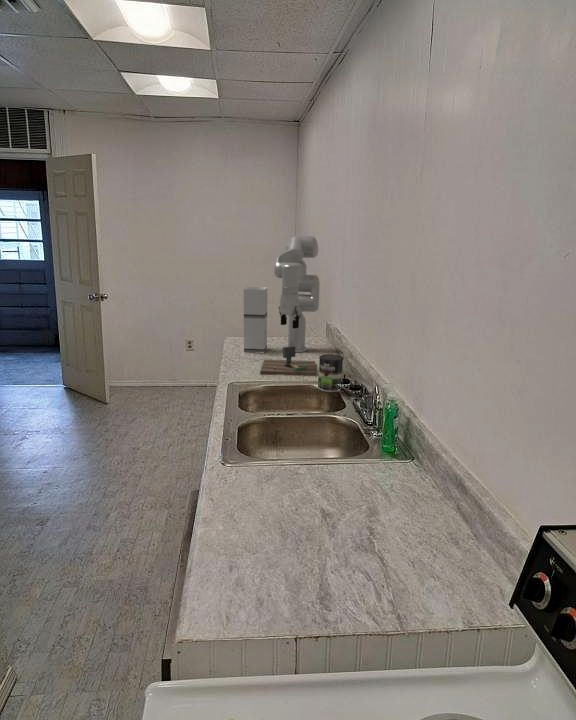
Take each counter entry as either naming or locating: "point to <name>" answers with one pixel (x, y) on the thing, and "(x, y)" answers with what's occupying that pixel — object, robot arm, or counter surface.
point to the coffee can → (330, 372)
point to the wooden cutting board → (288, 367)
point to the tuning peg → (289, 355)
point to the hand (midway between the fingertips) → (289, 326)
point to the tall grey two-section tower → (255, 319)
